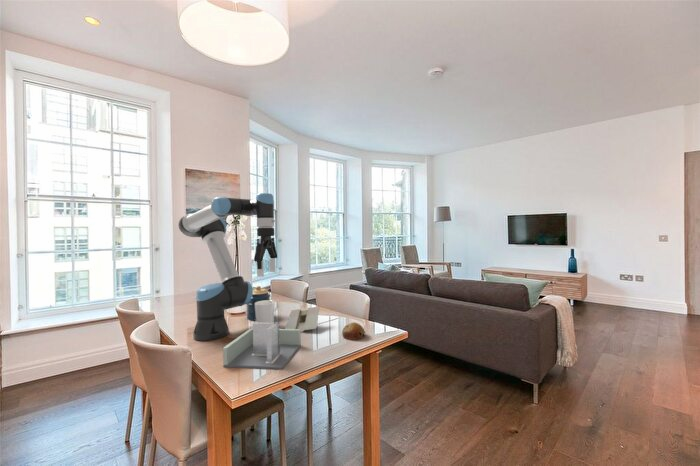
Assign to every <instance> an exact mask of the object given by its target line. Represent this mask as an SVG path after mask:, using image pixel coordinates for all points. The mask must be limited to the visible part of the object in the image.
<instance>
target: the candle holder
mask: <svg viewBox="0 0 700 466" xmlns="http://www.w3.org/2000/svg"><path fill="white" fill-rule="evenodd" d="M255 314H256V320H255V322H271V323H275V322H274V320H275V301H274V300H271V299H270V300H264V301H258V302H256V303H255Z"/></svg>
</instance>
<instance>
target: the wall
mask: <svg viewBox="0 0 700 466" xmlns="http://www.w3.org/2000/svg"><path fill="white" fill-rule="evenodd" d="M319 312H320V306H315V307H307V309H305V310H301V308H300V309H292V310H290V314H289V317H288V320H287V323H286V325H285V328H284V329H300V333H303V332H304V331H308V330H315V329H316V330H317V327H318V318H319Z"/></svg>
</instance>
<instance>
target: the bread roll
mask: <svg viewBox="0 0 700 466" xmlns="http://www.w3.org/2000/svg"><path fill="white" fill-rule="evenodd" d="M341 335H342V337H343V339H345V340H349V341H358V340H362V339H364V338H365V336H366V331H365V329H364V327H363V326H362V325H361V324H360V323H359V322H358V323H357V322H356V321H354V322H349V323H347V324H346V325H345V326H344V327H343V329H342V331H341Z"/></svg>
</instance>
